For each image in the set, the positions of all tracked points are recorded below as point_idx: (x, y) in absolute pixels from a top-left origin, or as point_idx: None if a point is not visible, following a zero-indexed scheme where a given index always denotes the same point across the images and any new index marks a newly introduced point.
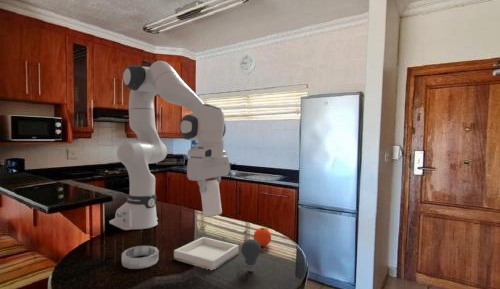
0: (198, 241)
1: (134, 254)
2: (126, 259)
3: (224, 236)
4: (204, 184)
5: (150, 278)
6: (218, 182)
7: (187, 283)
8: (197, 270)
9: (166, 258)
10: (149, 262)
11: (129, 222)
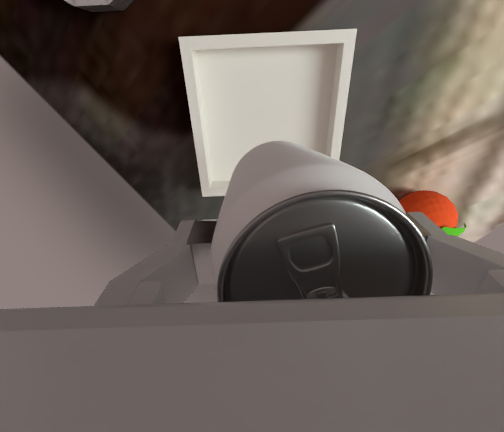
0: (309, 44)
1: None
2: None
3: (463, 50)
4: (214, 282)
5: (66, 83)
6: (435, 294)
7: (126, 177)
8: (183, 155)
9: (172, 8)
10: (86, 9)
11: None
